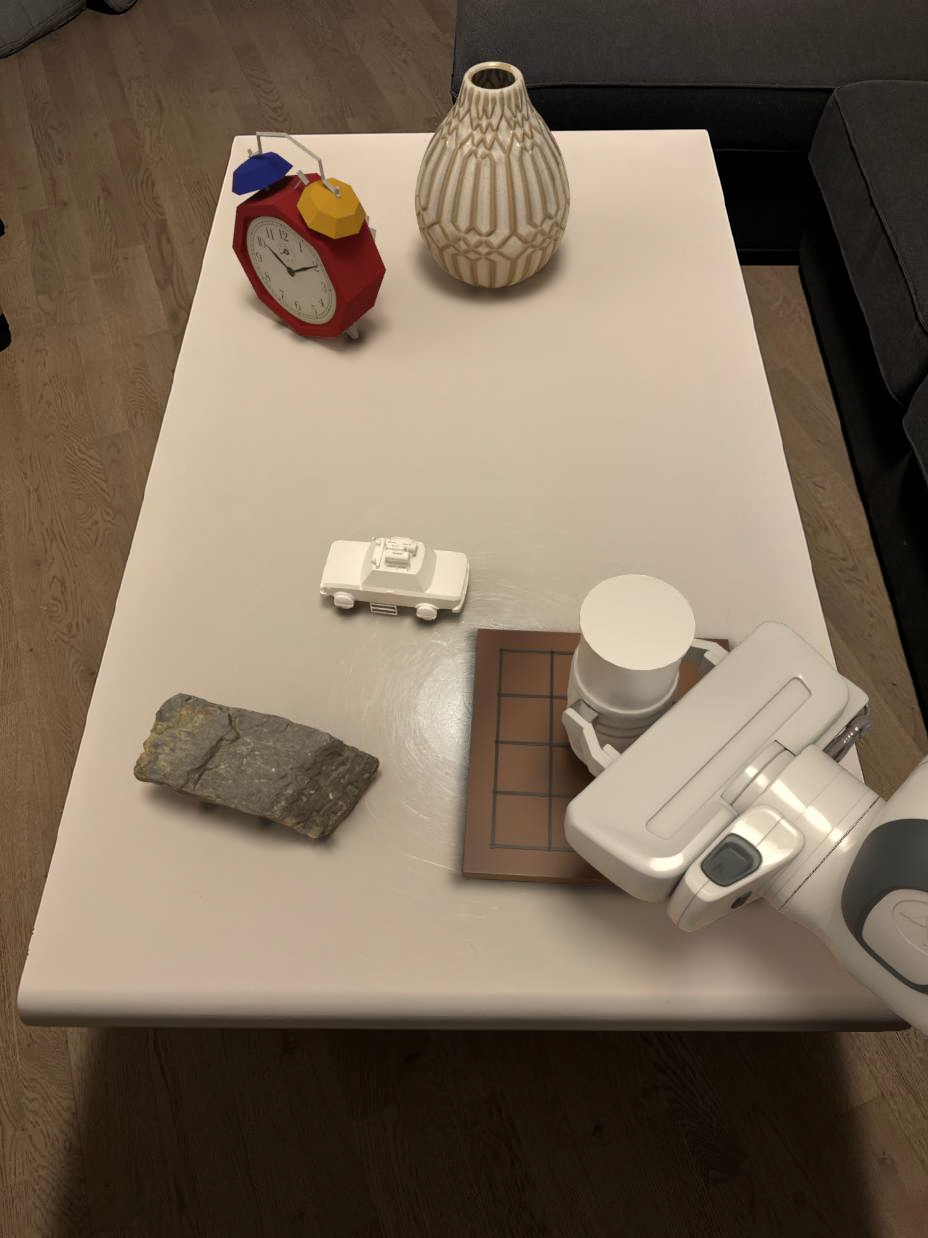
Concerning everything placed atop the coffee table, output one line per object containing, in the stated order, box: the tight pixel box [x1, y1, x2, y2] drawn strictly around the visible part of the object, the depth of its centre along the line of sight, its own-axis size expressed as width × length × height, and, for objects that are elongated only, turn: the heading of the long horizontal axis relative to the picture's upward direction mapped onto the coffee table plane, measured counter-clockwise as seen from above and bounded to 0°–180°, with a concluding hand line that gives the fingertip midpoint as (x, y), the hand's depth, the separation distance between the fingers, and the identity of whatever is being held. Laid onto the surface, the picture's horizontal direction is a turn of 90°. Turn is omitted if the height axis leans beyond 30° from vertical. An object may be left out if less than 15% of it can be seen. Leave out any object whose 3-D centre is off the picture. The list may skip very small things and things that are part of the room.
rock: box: [133, 692, 380, 839], centre depth 68 cm, size 17×7×10 cm
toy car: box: [319, 535, 470, 621], centre depth 76 cm, size 6×12×7 cm, turn 81°
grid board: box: [461, 628, 731, 887], centre depth 70 cm, size 20×20×1 cm
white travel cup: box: [565, 573, 697, 765], centre depth 61 cm, size 7×7×15 cm
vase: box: [414, 61, 571, 289], centre depth 94 cm, size 16×16×20 cm
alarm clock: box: [231, 131, 387, 340], centre depth 90 cm, size 15×9×20 cm, turn 54°
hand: (612, 671), depth 61 cm, fingers closed on white travel cup, 7 cm apart
